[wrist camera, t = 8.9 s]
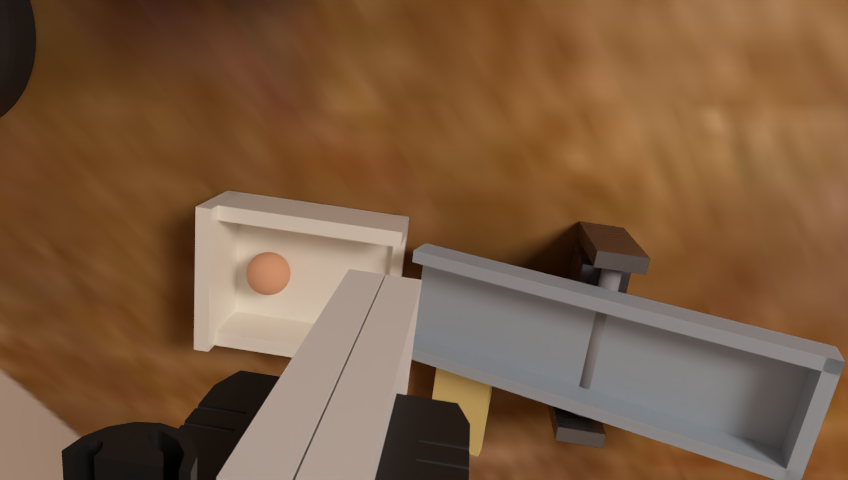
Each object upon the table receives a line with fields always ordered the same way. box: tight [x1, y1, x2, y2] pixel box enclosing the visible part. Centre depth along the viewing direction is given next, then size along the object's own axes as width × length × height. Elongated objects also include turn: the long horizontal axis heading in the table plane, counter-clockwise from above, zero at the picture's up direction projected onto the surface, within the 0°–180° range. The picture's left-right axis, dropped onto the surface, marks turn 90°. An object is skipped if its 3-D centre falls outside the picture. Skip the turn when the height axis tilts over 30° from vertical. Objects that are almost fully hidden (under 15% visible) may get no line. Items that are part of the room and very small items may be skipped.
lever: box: [412, 243, 845, 480], centre depth 37 cm, size 24×16×3 cm, turn 82°
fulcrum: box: [548, 222, 650, 448], centre depth 39 cm, size 3×13×7 cm, turn 173°
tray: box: [194, 191, 409, 358], centre depth 41 cm, size 13×10×5 cm
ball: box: [246, 252, 290, 295], centre depth 41 cm, size 3×3×3 cm
